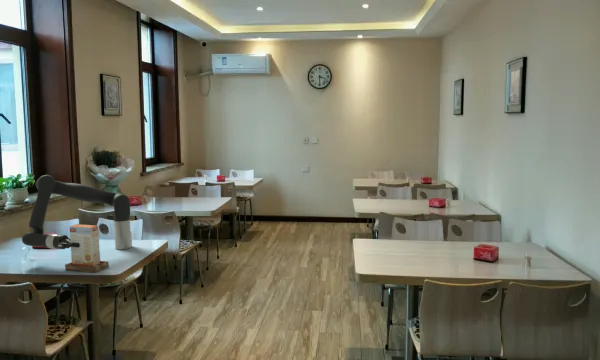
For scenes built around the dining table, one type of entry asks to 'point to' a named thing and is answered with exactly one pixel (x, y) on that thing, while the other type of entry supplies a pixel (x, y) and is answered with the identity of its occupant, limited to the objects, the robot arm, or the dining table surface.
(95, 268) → the tray
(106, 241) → the dining table surface
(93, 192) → the robot arm
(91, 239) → the cracker box
